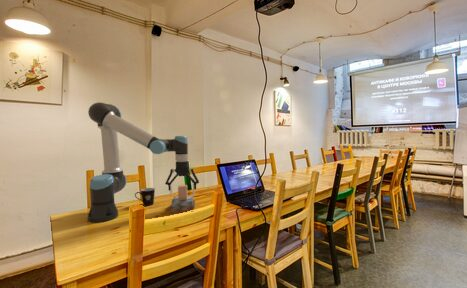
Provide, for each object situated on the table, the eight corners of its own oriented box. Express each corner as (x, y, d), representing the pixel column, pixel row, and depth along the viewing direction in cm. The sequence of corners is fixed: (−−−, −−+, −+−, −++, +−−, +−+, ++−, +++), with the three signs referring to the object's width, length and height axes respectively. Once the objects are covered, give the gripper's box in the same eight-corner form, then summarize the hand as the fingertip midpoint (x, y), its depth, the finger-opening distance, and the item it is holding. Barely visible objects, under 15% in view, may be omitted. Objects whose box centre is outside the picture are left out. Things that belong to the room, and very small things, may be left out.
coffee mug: (157, 202, 165) (156, 187, 164) (151, 206, 156) (151, 191, 155) (140, 202, 166) (140, 187, 165) (134, 206, 157) (133, 190, 157)
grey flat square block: (169, 212, 144) (169, 202, 144) (173, 205, 158) (172, 196, 158) (193, 211, 145) (193, 201, 145) (195, 204, 159) (194, 195, 159)
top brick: (178, 200, 149) (178, 187, 148) (179, 197, 153) (179, 185, 153) (186, 199, 149) (186, 186, 149) (187, 197, 154) (187, 184, 154)
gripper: (159, 162, 145) (160, 197, 146) (202, 161, 148) (202, 195, 149) (162, 160, 152) (163, 194, 154) (202, 159, 155) (203, 192, 156)
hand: (182, 195), depth 151 cm, fingers open, 13 cm apart
